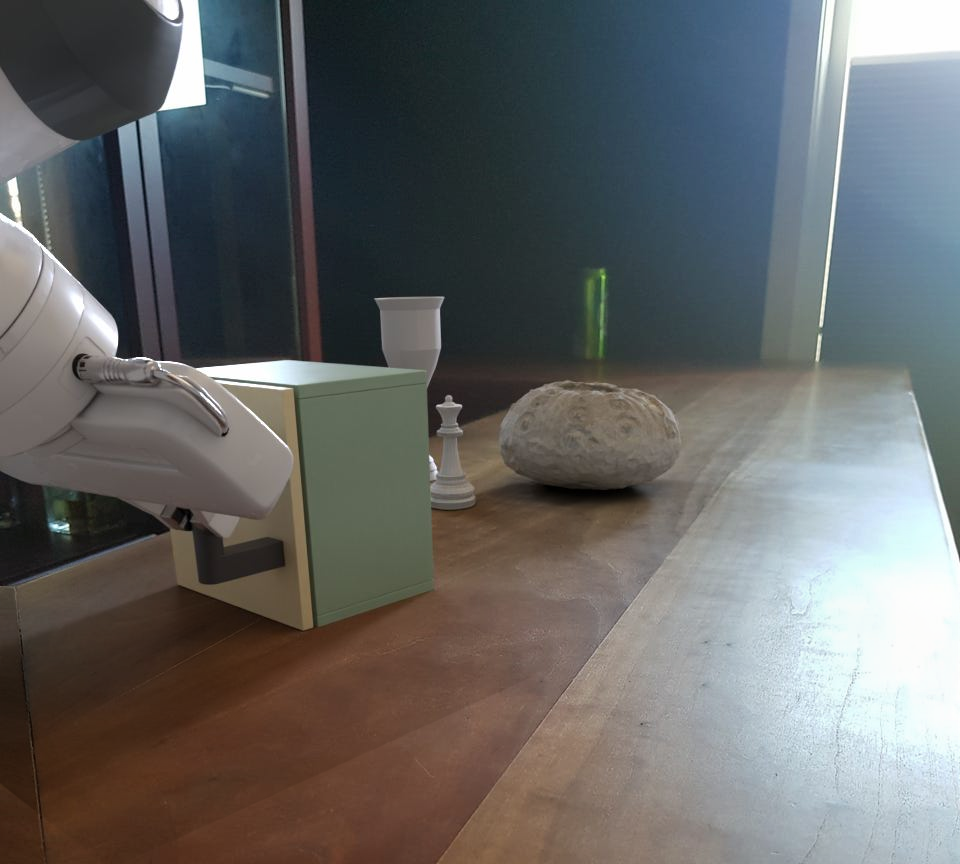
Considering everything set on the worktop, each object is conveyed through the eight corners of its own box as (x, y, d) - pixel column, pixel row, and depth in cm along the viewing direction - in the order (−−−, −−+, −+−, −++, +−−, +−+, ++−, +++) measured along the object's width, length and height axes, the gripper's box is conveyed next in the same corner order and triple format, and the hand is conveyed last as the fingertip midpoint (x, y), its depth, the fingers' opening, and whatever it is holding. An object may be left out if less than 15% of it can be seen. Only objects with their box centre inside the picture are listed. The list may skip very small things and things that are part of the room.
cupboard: (318, 628, 60) (298, 384, 55) (190, 583, 70) (163, 371, 64) (434, 590, 67) (426, 370, 62) (303, 553, 76) (287, 359, 71)
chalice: (414, 468, 109) (406, 296, 102) (463, 474, 105) (458, 296, 98) (370, 480, 103) (359, 299, 97) (420, 486, 99) (412, 299, 93)
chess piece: (419, 507, 90) (415, 397, 87) (441, 498, 94) (438, 391, 91) (462, 511, 89) (459, 399, 85) (483, 501, 92) (481, 393, 89)
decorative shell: (678, 470, 105) (683, 374, 101) (680, 508, 88) (686, 395, 85) (512, 468, 108) (512, 374, 104) (485, 504, 91) (483, 394, 88)
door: (228, 655, 56) (197, 399, 51) (105, 602, 65) (69, 382, 60) (313, 627, 60) (293, 388, 55) (187, 582, 69) (160, 374, 64)
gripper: (206, 302, 40) (373, 495, 51) (-68, 302, 50) (119, 462, 61) (131, 428, 38) (322, 600, 49) (-138, 401, 48) (69, 547, 59)
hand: (207, 523), depth 55 cm, fingers closed on door, 2 cm apart
